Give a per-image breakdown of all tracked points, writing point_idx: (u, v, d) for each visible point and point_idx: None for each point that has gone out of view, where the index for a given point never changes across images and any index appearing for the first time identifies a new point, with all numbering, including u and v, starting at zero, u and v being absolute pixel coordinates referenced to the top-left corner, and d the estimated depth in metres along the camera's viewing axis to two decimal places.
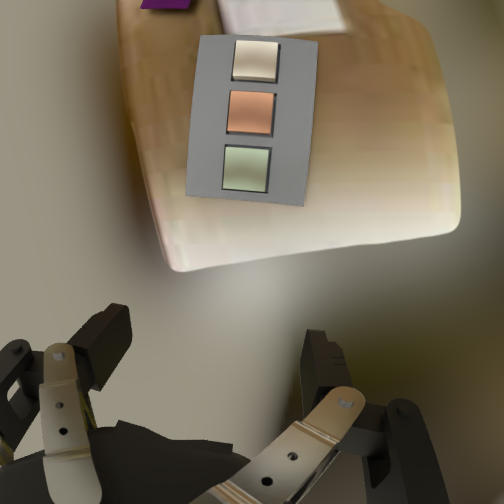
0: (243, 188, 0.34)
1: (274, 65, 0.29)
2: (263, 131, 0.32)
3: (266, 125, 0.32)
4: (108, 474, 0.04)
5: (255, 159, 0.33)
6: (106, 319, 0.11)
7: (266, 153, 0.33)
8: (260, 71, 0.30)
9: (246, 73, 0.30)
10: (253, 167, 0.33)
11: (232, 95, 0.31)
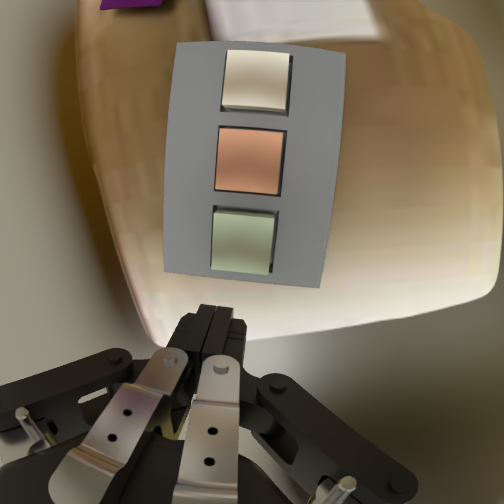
0: (239, 270, 0.26)
1: (284, 89, 0.20)
2: (267, 191, 0.23)
3: (271, 182, 0.23)
4: None
5: (255, 231, 0.24)
6: (204, 320, 0.11)
7: (271, 223, 0.24)
8: (263, 98, 0.21)
9: (242, 101, 0.21)
10: (253, 242, 0.25)
11: (222, 135, 0.22)
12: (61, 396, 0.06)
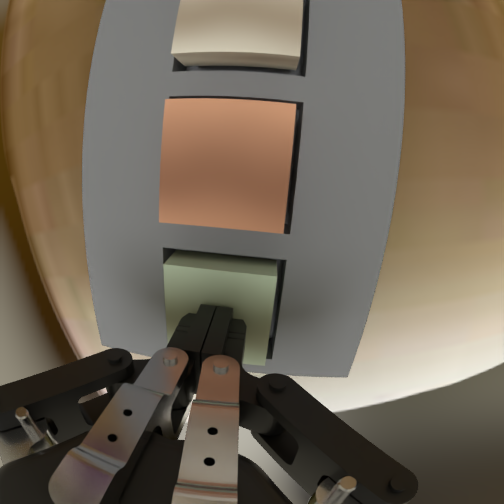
0: None
1: (297, 20, 0.08)
2: (263, 227, 0.11)
3: (273, 208, 0.11)
4: None
5: (241, 299, 0.13)
6: (204, 320, 0.11)
7: (271, 284, 0.13)
8: (254, 36, 0.09)
9: (211, 44, 0.09)
10: (237, 317, 0.13)
11: (169, 113, 0.10)
12: (61, 396, 0.06)
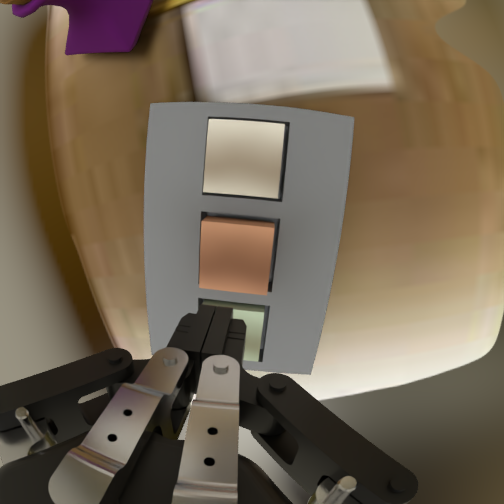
0: None
1: (277, 172, 0.19)
2: (256, 292, 0.21)
3: (261, 282, 0.21)
4: None
5: None
6: (204, 320, 0.11)
7: (261, 316, 0.23)
8: (252, 184, 0.19)
9: (226, 188, 0.19)
10: None
11: (204, 230, 0.20)
12: (61, 396, 0.06)
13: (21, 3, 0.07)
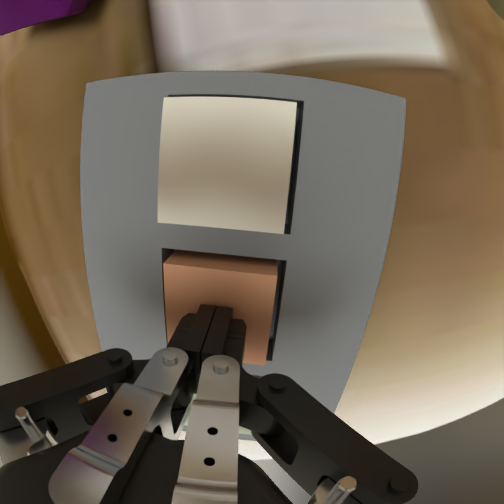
0: None
1: (283, 189, 0.11)
2: (249, 361, 0.14)
3: (257, 350, 0.14)
4: None
5: None
6: (204, 320, 0.11)
7: None
8: (239, 210, 0.11)
9: (195, 216, 0.11)
10: None
11: (168, 276, 0.13)
12: (61, 396, 0.06)
13: None
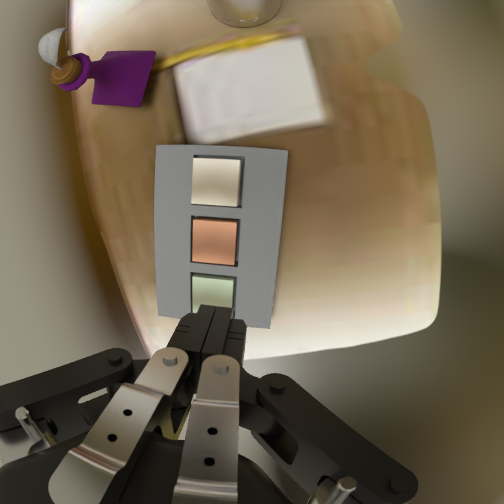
0: None
1: (236, 190, 0.31)
2: (227, 263, 0.34)
3: (230, 257, 0.34)
4: None
5: (221, 289, 0.35)
6: (204, 320, 0.11)
7: (231, 283, 0.35)
8: (220, 198, 0.31)
9: (205, 201, 0.31)
10: (219, 296, 0.36)
11: (194, 225, 0.33)
12: (61, 396, 0.06)
13: (67, 82, 0.19)
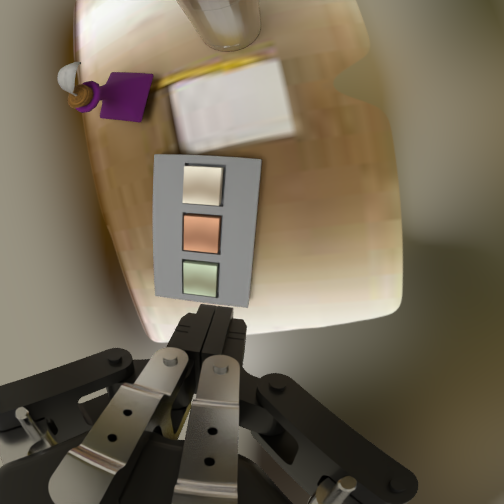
0: (199, 294, 0.44)
1: (218, 192, 0.38)
2: (212, 251, 0.42)
3: (214, 246, 0.41)
4: None
5: (206, 273, 0.43)
6: (204, 320, 0.11)
7: (215, 268, 0.42)
8: (206, 199, 0.38)
9: (193, 201, 0.38)
10: (205, 279, 0.43)
11: (185, 220, 0.40)
12: (61, 396, 0.06)
13: (81, 106, 0.26)
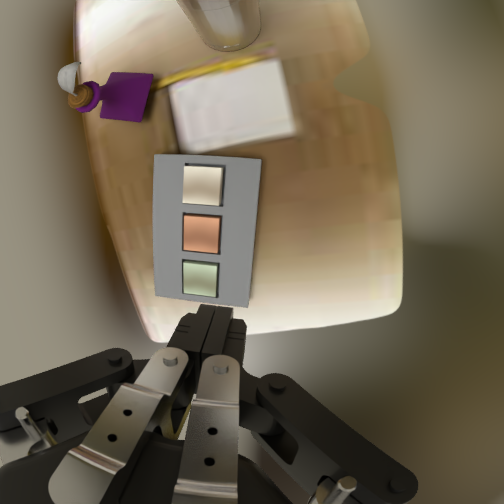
0: (199, 293, 0.44)
1: (218, 192, 0.38)
2: (212, 251, 0.42)
3: (214, 246, 0.41)
4: None
5: (206, 273, 0.43)
6: (204, 320, 0.11)
7: (215, 268, 0.42)
8: (206, 199, 0.38)
9: (194, 201, 0.38)
10: (205, 279, 0.43)
11: (185, 220, 0.40)
12: (61, 396, 0.06)
13: (81, 106, 0.26)
